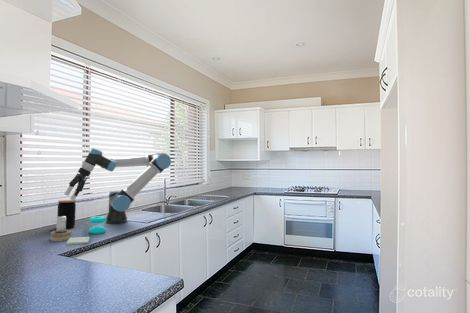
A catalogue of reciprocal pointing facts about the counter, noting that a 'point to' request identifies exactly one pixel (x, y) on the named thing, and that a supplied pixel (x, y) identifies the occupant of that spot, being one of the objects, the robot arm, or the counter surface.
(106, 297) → the counter surface
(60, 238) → the collar
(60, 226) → the plug
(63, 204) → the coffee jar
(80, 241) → the board
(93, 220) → the donuts
